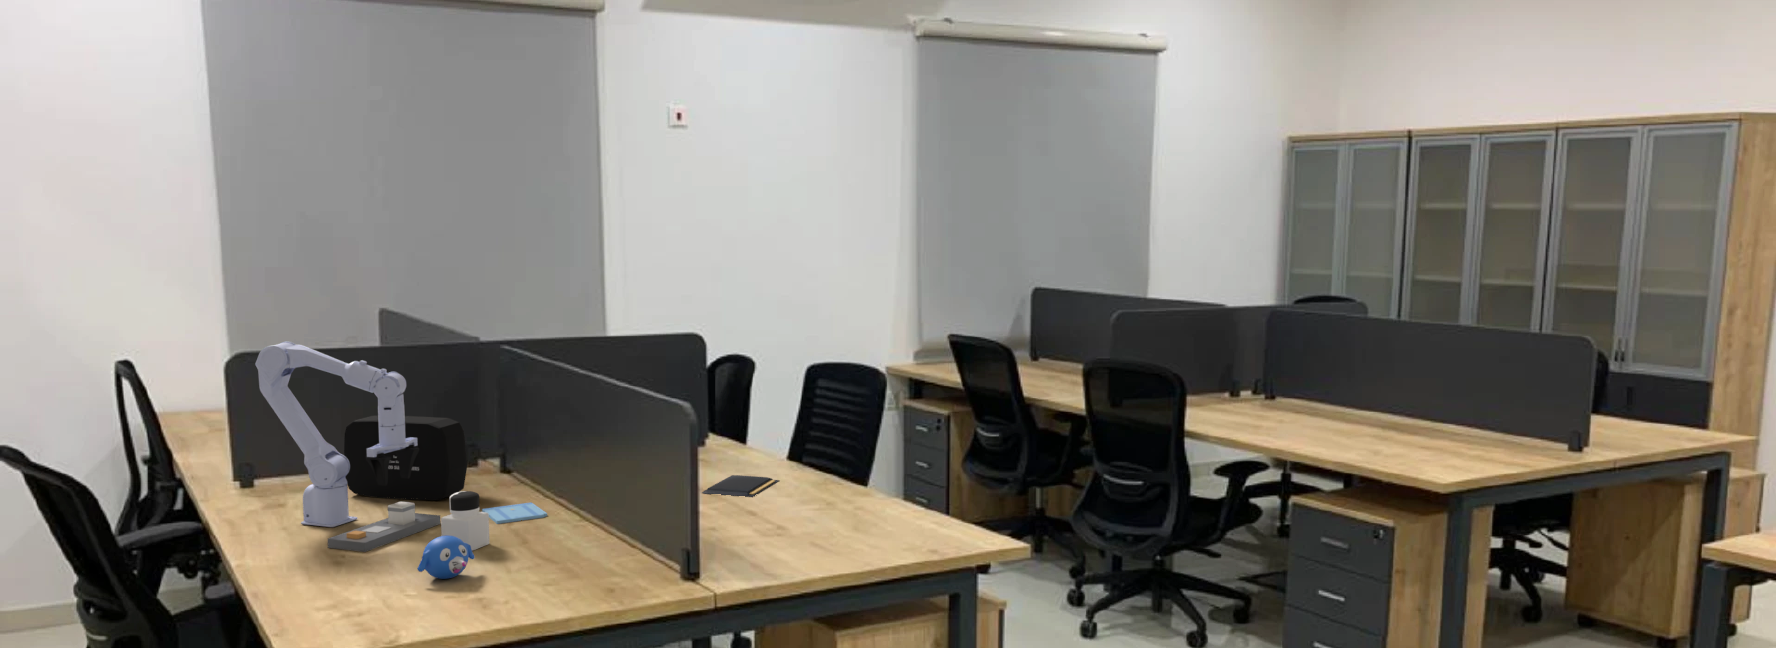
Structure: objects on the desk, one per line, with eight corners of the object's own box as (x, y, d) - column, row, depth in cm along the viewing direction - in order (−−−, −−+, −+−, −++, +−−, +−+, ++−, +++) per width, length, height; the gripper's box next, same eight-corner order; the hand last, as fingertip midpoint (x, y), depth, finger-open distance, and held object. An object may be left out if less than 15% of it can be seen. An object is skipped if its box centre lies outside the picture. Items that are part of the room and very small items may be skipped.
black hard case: (344, 496, 300) (341, 419, 298) (376, 485, 311) (373, 411, 310) (448, 503, 292) (445, 424, 291) (476, 492, 304) (474, 416, 302)
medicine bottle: (490, 544, 256) (488, 490, 255) (468, 553, 249) (466, 498, 248) (463, 541, 258) (461, 488, 257) (441, 549, 252) (439, 495, 251)
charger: (388, 531, 266) (387, 505, 266) (401, 527, 270) (400, 501, 270) (403, 533, 265) (402, 507, 264) (415, 528, 269) (414, 503, 268)
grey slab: (365, 551, 250) (364, 538, 250) (327, 547, 253) (327, 534, 253) (440, 523, 273) (440, 511, 272) (405, 520, 276) (405, 507, 276)
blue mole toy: (437, 593, 223) (436, 550, 222) (407, 580, 231) (405, 539, 230) (494, 578, 232) (493, 537, 231) (463, 566, 240) (461, 526, 239)
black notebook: (731, 472, 322) (782, 476, 317) (731, 479, 322) (782, 483, 317) (698, 488, 303) (751, 493, 298) (698, 495, 303) (752, 500, 298)
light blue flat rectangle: (548, 519, 279) (548, 513, 279) (497, 526, 273) (496, 520, 273) (531, 507, 291) (531, 502, 290) (482, 513, 284) (482, 508, 284)
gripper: (383, 431, 265) (385, 489, 267) (427, 420, 279) (429, 476, 280) (358, 429, 267) (360, 487, 269) (402, 418, 281) (405, 474, 282)
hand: (394, 481), depth 275 cm, fingers open, 7 cm apart
